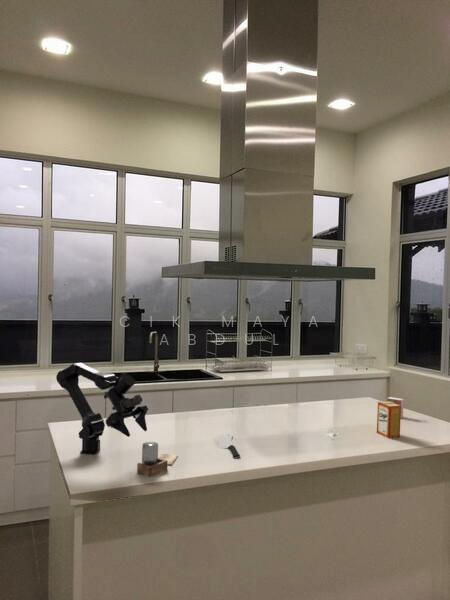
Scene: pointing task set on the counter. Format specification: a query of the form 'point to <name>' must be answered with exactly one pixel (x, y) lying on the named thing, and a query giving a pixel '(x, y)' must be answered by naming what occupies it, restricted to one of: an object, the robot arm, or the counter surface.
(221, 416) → the counter surface
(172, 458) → the mat
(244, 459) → the counter surface
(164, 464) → the cubby
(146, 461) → the canister
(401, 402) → the small box
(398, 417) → the baking soda box
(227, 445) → the kitchen cleaver
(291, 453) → the counter surface
